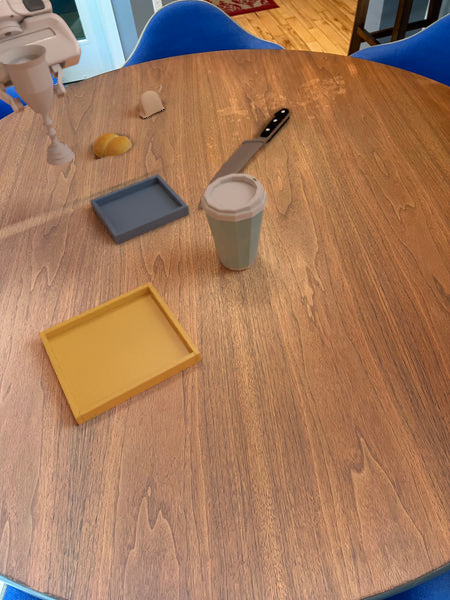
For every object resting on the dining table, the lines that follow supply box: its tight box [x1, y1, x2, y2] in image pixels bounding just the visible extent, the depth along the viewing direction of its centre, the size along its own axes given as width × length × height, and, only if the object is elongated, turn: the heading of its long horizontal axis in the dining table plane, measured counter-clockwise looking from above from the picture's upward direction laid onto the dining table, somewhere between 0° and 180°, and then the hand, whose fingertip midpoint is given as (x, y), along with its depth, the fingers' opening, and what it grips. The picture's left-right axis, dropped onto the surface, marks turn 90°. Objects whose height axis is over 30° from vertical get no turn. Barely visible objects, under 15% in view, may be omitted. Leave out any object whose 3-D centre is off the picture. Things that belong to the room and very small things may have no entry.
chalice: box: [0, 45, 75, 166], centre depth 80 cm, size 7×7×18 cm
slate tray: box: [89, 173, 190, 245], centre depth 97 cm, size 16×14×2 cm
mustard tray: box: [38, 281, 202, 426], centre depth 74 cm, size 20×18×2 cm
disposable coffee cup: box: [200, 173, 268, 272], centre depth 81 cm, size 11×11×15 cm
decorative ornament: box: [137, 84, 165, 119], centre depth 123 cm, size 4×8×5 cm, turn 129°
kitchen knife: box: [198, 107, 291, 210], centre depth 107 cm, size 5×41×2 cm, turn 150°
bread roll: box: [92, 132, 133, 159], centre depth 111 cm, size 8×9×4 cm
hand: (42, 103), depth 79 cm, fingers closed on chalice, 6 cm apart
